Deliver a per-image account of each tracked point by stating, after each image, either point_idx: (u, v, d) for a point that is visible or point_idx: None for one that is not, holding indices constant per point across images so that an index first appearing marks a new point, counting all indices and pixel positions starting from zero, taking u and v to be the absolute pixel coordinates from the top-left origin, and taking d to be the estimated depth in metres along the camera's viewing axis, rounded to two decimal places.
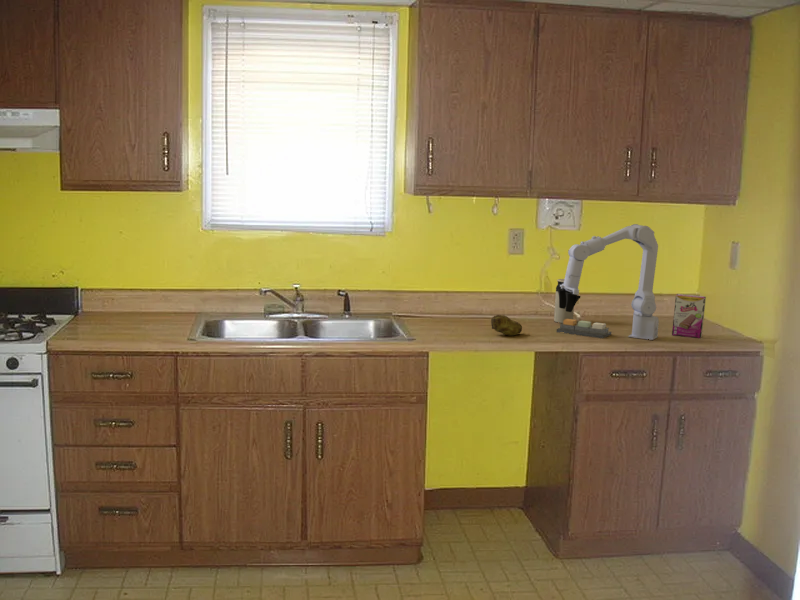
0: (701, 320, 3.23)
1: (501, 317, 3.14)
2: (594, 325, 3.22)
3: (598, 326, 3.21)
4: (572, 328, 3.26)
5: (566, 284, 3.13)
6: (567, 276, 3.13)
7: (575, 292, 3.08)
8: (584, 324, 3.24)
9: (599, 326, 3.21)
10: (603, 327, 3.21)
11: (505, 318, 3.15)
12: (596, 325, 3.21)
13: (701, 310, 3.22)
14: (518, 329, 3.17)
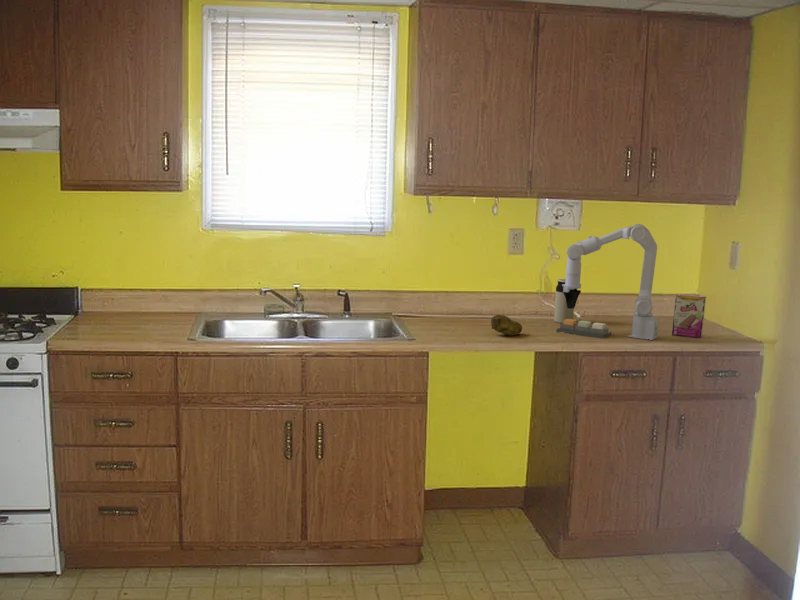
0: (701, 320, 3.23)
1: (501, 317, 3.14)
2: (594, 325, 3.22)
3: (598, 326, 3.21)
4: (572, 328, 3.26)
5: (565, 283, 3.27)
6: None
7: (564, 290, 3.21)
8: (584, 324, 3.24)
9: (599, 326, 3.21)
10: (603, 327, 3.21)
11: (505, 318, 3.15)
12: (596, 325, 3.21)
13: (701, 310, 3.22)
14: (518, 329, 3.17)
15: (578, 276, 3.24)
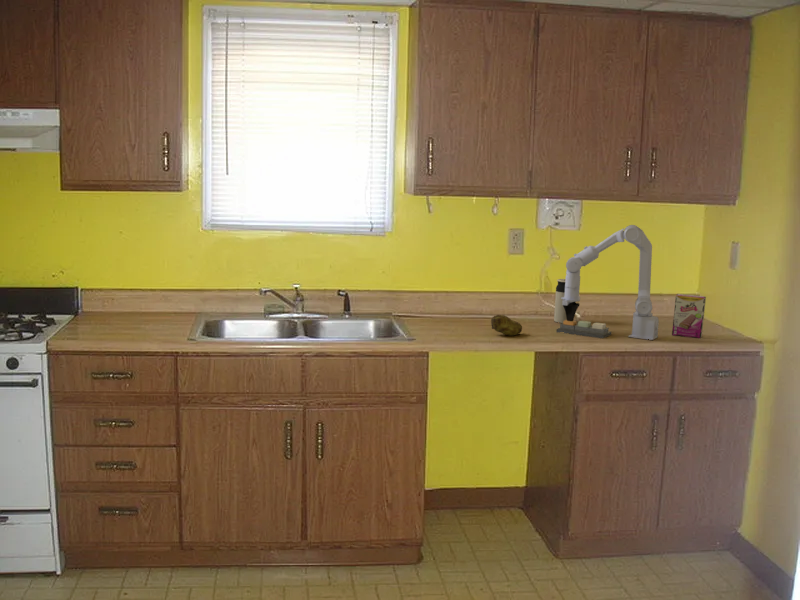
0: (701, 320, 3.23)
1: (501, 317, 3.14)
2: (594, 325, 3.22)
3: (598, 326, 3.21)
4: (572, 328, 3.26)
5: (564, 296, 3.27)
6: None
7: (563, 303, 3.22)
8: (584, 324, 3.24)
9: (599, 326, 3.21)
10: (603, 327, 3.21)
11: (505, 318, 3.15)
12: (596, 325, 3.21)
13: (702, 310, 3.22)
14: (518, 329, 3.17)
15: (577, 289, 3.25)
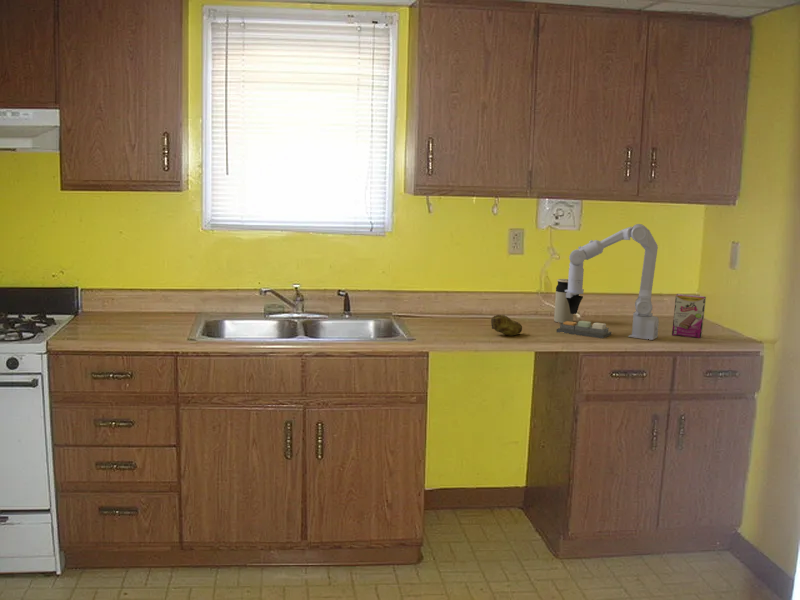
0: (701, 320, 3.23)
1: (501, 317, 3.14)
2: (594, 325, 3.22)
3: (598, 326, 3.21)
4: (572, 328, 3.26)
5: None
6: (568, 281, 3.26)
7: (567, 295, 3.21)
8: (584, 324, 3.24)
9: (599, 326, 3.21)
10: (603, 327, 3.21)
11: (505, 318, 3.15)
12: (596, 325, 3.21)
13: (701, 310, 3.22)
14: (518, 329, 3.17)
15: (580, 282, 3.24)
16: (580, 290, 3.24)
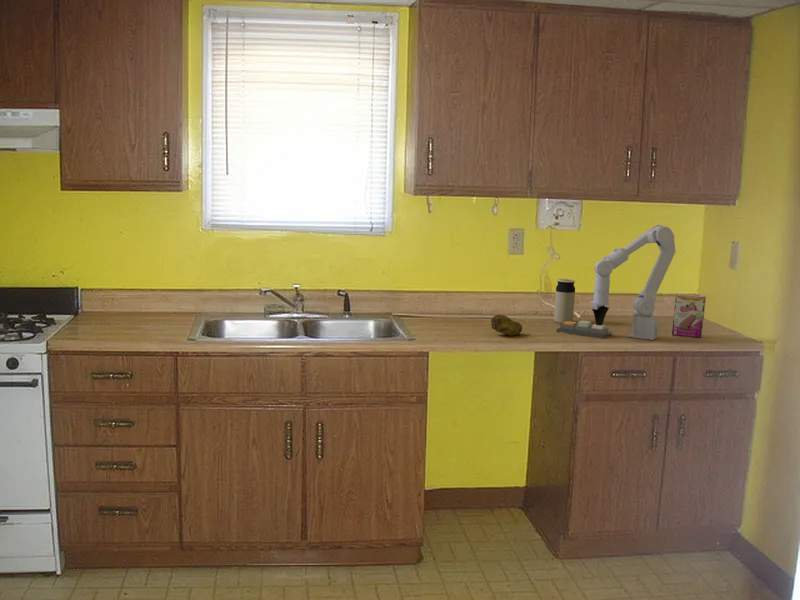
0: (701, 320, 3.23)
1: (501, 317, 3.14)
2: (594, 326, 3.22)
3: (598, 327, 3.21)
4: (572, 328, 3.26)
5: (593, 300, 3.21)
6: (594, 292, 3.21)
7: (593, 307, 3.16)
8: (584, 324, 3.24)
9: (599, 327, 3.21)
10: (603, 328, 3.21)
11: (505, 318, 3.15)
12: (596, 326, 3.21)
13: (702, 310, 3.22)
14: (518, 329, 3.17)
15: (607, 293, 3.19)
16: (606, 301, 3.19)
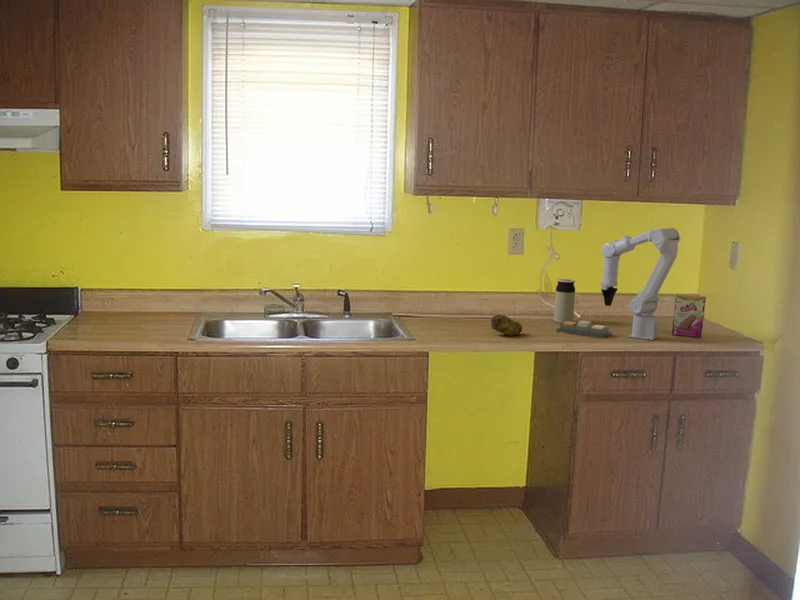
0: (701, 320, 3.23)
1: (501, 317, 3.14)
2: None
3: None
4: (572, 328, 3.26)
5: None
6: (603, 273, 3.33)
7: (602, 287, 3.27)
8: (584, 324, 3.24)
9: None
10: None
11: (505, 318, 3.15)
12: (596, 328, 3.21)
13: (701, 310, 3.22)
14: (518, 329, 3.17)
15: (615, 274, 3.30)
16: (615, 282, 3.31)
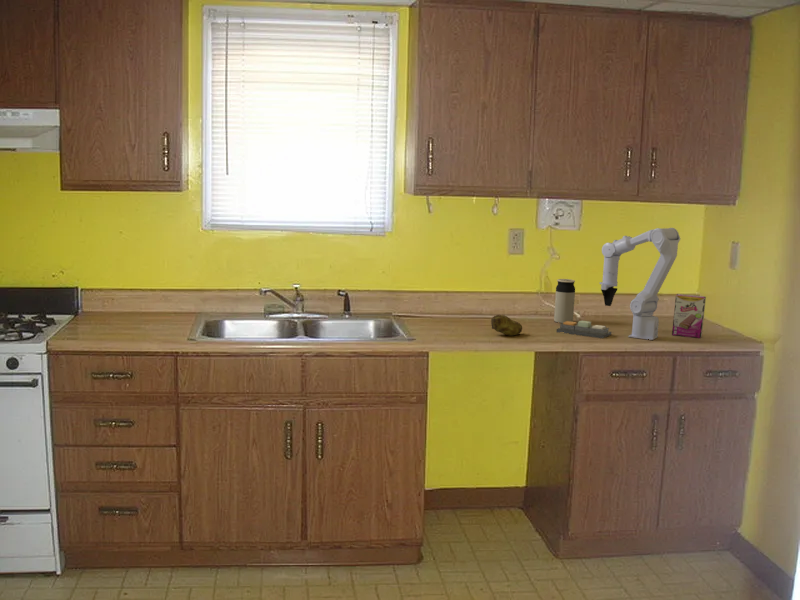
0: (701, 320, 3.23)
1: (501, 317, 3.14)
2: None
3: None
4: (572, 328, 3.26)
5: None
6: (603, 273, 3.33)
7: (602, 287, 3.27)
8: (584, 324, 3.24)
9: None
10: None
11: (505, 318, 3.15)
12: (596, 328, 3.21)
13: (701, 310, 3.22)
14: (518, 329, 3.17)
15: (615, 274, 3.30)
16: (615, 282, 3.31)
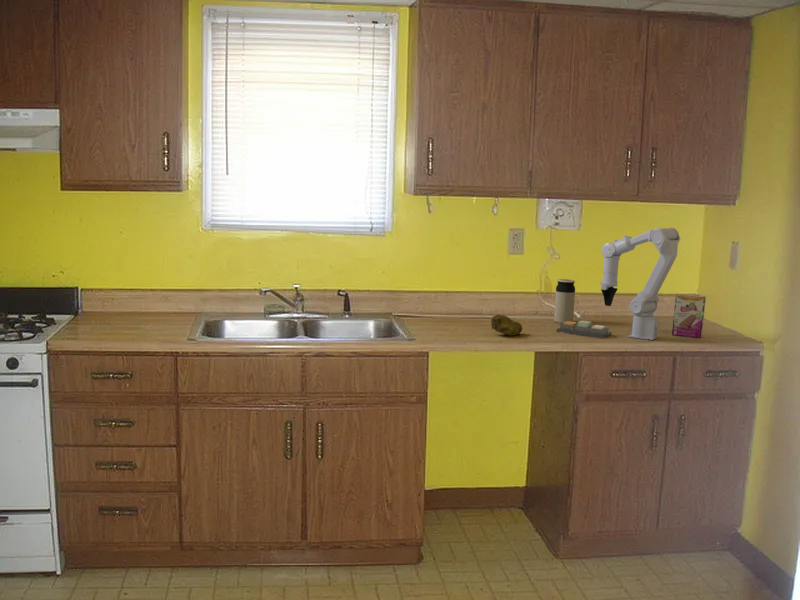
0: (701, 320, 3.23)
1: (501, 317, 3.14)
2: None
3: None
4: (572, 328, 3.26)
5: None
6: (603, 273, 3.33)
7: (602, 287, 3.27)
8: (584, 324, 3.24)
9: None
10: None
11: (505, 318, 3.15)
12: (596, 328, 3.21)
13: (701, 310, 3.22)
14: (518, 329, 3.17)
15: (615, 274, 3.30)
16: (615, 282, 3.31)
